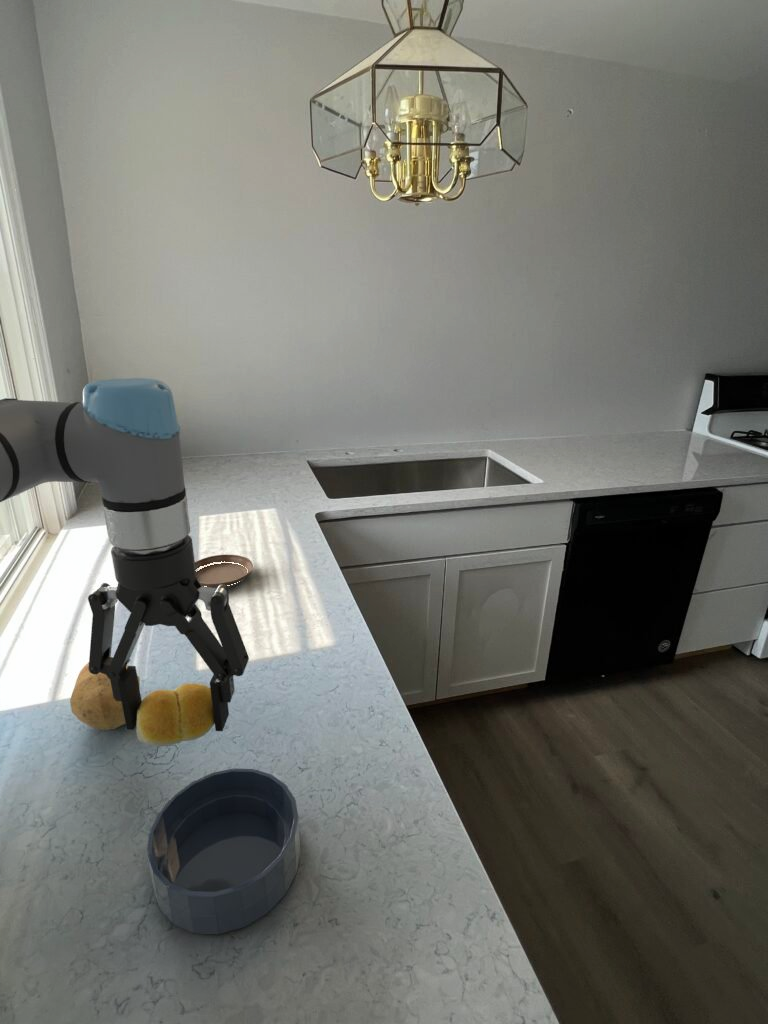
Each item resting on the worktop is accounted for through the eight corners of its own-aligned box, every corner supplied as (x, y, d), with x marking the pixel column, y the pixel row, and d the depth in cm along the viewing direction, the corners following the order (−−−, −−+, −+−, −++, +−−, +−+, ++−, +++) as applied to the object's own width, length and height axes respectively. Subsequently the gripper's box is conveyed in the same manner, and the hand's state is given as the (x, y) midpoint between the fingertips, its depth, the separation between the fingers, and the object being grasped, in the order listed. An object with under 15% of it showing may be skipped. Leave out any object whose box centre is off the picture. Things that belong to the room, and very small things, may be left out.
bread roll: (225, 735, 61) (222, 705, 60) (137, 758, 58) (132, 728, 57) (216, 690, 68) (213, 662, 67) (138, 708, 65) (132, 680, 64)
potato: (77, 759, 78) (66, 713, 75) (73, 700, 89) (64, 658, 87) (151, 735, 82) (144, 691, 80) (139, 682, 94) (132, 642, 91)
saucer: (230, 598, 121) (229, 587, 120) (174, 586, 125) (172, 576, 125) (265, 569, 134) (264, 559, 133) (213, 560, 139) (212, 550, 138)
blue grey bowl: (128, 934, 57) (119, 893, 54) (185, 802, 72) (180, 766, 69) (285, 940, 56) (282, 899, 54) (309, 806, 71) (307, 770, 69)
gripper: (269, 526, 59) (281, 701, 66) (62, 524, 59) (99, 698, 67) (252, 556, 51) (268, 748, 59) (18, 554, 52) (64, 745, 59)
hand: (178, 721), depth 63 cm, fingers closed on bread roll, 9 cm apart
